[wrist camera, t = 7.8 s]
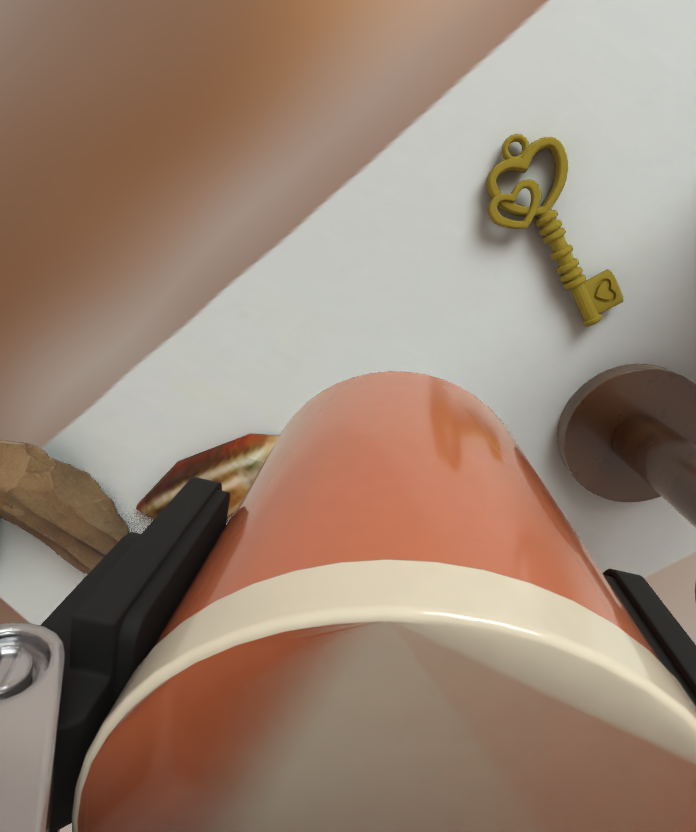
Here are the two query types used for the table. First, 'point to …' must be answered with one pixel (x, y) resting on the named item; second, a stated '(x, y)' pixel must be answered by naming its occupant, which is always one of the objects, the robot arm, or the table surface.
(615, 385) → the stand
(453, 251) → the table surface
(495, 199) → the key
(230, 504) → the decorative stone
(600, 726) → the tumbler
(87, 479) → the stone tool
